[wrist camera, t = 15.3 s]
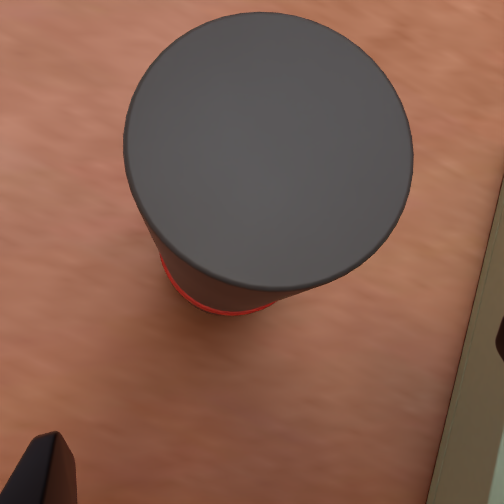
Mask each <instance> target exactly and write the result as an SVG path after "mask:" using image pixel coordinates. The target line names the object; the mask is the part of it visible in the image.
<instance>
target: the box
mask: <svg viewBox="0 0 504 504" xmlns="http://www.w3.org/2000/svg"><path fill="white" fill-rule="evenodd" d="M503 316H504V178H503V183H502V187H501V191H500V195H499V200H498V204H497V208H496V212H495V216H494V221H493V225H492V229H491V233H490V237H489V242H488V246H487V250H486V254H485V258H484V263H483V267H482V271H481V275H480V280H479V284H478V288H477V292H476V296H475V301H474V305H473V309H472V313H471V317H470V322H469V326H468V330H467V334H466V338H465V343H464V347H463V351H462V355H461V360H460V364H459V368H458V372H457V376H456V381H455V385H454V389H453V393H452V397H451V402H450V406H449V410H448V414H447V419H446V423H445V427H444V431H443V435H442V440H441V444H440V448H439V452H438V456H437V461H436V465H435V469H434V473H433V477H432V482H431V486H430V490H429V494H428V499H427V503H426V504H504V362H503V360H502V358H501V357H500V355H499V353H498V351H497V349H496V346H495V338H496V335H497V332H498V329H499V326H500V323H501V320H502V317H503Z"/></svg>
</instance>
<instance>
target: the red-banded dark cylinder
mask: <svg viewBox="0 0 504 504" xmlns="http://www.w3.org/2000/svg"><path fill="white" fill-rule="evenodd" d="M123 156H124V164H125V171H126V176H127V179H128V183H129V187H130V190H131V193H132V195H133V198H134V200H135V202H136V205H137V207H138V209H139V211H140V213H141V215H142V217H143V219H144V222H145V224H146V226H147V228H148V230H149V232H150V234H151V236H152V238H153V240H154V242H155V244H156V246H157V248H158V250H159V253H160V258H161V261H162V265H163V267H164V270H165V272H166V274H167V276H168V278H169V279H170V281H171V283H172V284H173V286H174V287H175V288H176V289H177V291H178V292H179V293H180V294H181V295H182V296H183V297H184V298H185V299H186V300H187V301H188V302H189V303H191V304H192V305H194V306H195V307H197V308H198V309H200V310H202V311H205V312H207V313H211V314H215V315H223V316H225V315H229V316H233V315H244V314H249V313H253V312H256V311H259V310H262V309H264V308H266V307H268V306H270V305H272V304H273V303H275V302H276V301H278V300H281V299H284V298H287V297H290V296H293V295H295V294H298V293H301V292H304V291H307V290H310V289H313V288H316V287H318V286H321V285H324V284H327V283H329V282H332V281H334V280H336V279H338V278H340V277H342V276H345V275H346V274H348V273H349V272H351V271H352V270H354V269H356V268H357V267H359V266H360V265H361V264H363V263H364V262H365V261H366V260H367V259H368V258H370V257H371V256H372V255H373V254H374V253H375V252H376V251H377V250H378V249H379V248H380V247H381V245H382V244H383V243H384V242H385V241H386V240H387V238H388V237H389V235H390V234H391V232H392V231H393V229H394V228H395V226H396V225H397V223H398V221H399V218H400V216H401V214H402V212H403V210H404V208H405V205H406V201H407V198H408V195H409V192H410V187H411V181H412V175H413V156H414V154H413V144H412V135H411V131H410V127H409V122H408V119H407V116H406V113H405V110H404V108H403V105H402V102H401V100H400V98H399V97H398V95H397V93H396V91H395V89H394V87H393V85H392V84H391V82H390V81H389V79H388V78H387V76H386V75H385V73H384V72H383V71H382V70H381V69H380V68H379V66H378V65H377V64H376V63H375V62H374V61H373V59H372V58H370V57H369V56H368V55H367V54H366V53H365V52H364V51H363V50H362V49H361V48H360V47H358V46H357V45H356V44H354V43H353V42H351V41H350V40H349V39H347V38H346V37H345V36H343V35H341V34H339V33H338V32H336V31H334V30H332V29H330V28H329V27H326V26H324V25H321V24H319V23H317V22H314V21H312V20H308V19H305V18H301V17H298V16H294V15H288V14H282V13H273V12H250V13H240V14H235V15H230V16H225V17H221V18H218V19H215V20H212V21H209V22H206V23H204V24H202V25H200V26H198V27H196V28H194V29H192V30H190V31H188V32H187V33H185V34H184V35H182V36H181V37H179V38H178V39H176V40H175V41H174V42H173V43H172V44H170V45H169V46H168V47H167V48H166V49H165V50H164V51H162V52H161V54H160V55H159V56H158V57H157V58H156V59H155V60H154V62H153V63H152V64H151V65H150V66H149V68H148V69H147V71H146V72H145V74H144V75H143V77H142V79H141V80H140V82H139V84H138V86H137V88H136V90H135V92H134V94H133V96H132V99H131V102H130V105H129V109H128V112H127V115H126V121H125V127H124V134H123Z"/></svg>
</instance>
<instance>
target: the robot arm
mask: <svg viewBox="0 0 504 504" xmlns="http://www.w3.org/2000/svg"><path fill="white" fill-rule="evenodd" d="M495 346H496V349H497V351H498V353H499V355H500V357H501V358H502V360H503V362H504V316H503V317H502V320H501V323H500V326H499V329H498V332H497V335H496V338H495ZM0 504H77V485H76V467H75V460H74V456H73V454H72V452H71V450H70V449H69V447H68V445H67V443H66V442H65V440H64V438H63V437H62V435H61V434H60V432H58V431H53V432H49V433H45V434H42V435H38V436H36V437H35V438H34V439H33V440H32V441H31V442H30V444H29V446H28V447H27V449H26V451H25V453H24V454H23V456H22V458H21V459H20V461H19V463H18V465H17V466H16V468H15V470H14V471H13V473H12V475H11V476H10V478H9V480H8V482H7V483H6V485H5V487H4V488H3V490H2V492H1V494H0Z"/></svg>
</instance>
